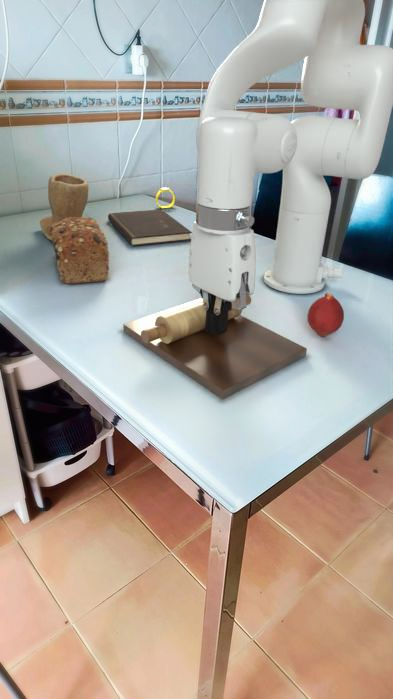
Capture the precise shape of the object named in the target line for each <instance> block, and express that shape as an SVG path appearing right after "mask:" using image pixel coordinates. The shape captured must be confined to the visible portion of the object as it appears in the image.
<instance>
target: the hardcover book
mask: <svg viewBox="0 0 393 699" xmlns="http://www.w3.org/2000/svg"><path fill="white" fill-rule="evenodd" d="M107 219H108V220H107V221H108V222H110V223H111V224H112V225H113V226H114V228H115V229H116V230H117V231H118V232H119V233H120V234H121V235H122V237H124V239H125V240H126V241H127V242H128V243H129V244H130V245H131V246H132V247H142V246H152V245H161V244H171V243H178V242H179V243H180V242H182V243H183V242H191V234H192V232H193V231H191V230H190V229H188V228H187V227H186V226H184V225H183V224H182V223H180V222H179V221H178V220H177V219H175V218H174V217H172V216H171V215H170V214H168V213H167V212H166V211H164V210H163V209H162V208H160V209H147V210H136V211H122V212H121V211H120V212H109V213H108V215H107Z"/></svg>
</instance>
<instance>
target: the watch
mask: <svg viewBox="0 0 393 699" xmlns="http://www.w3.org/2000/svg"><path fill="white" fill-rule="evenodd" d="M167 192H169V193H171V196H172V201H171V203H170V204H169V205H163V206H162V205H160V204H159V196H160V195H161V193H167ZM175 202H176V196H175V194H174V192H173V190H171V189H170V187H161V188H160V189H159V190H158V192H157V193H156V195H155V203H156V205H157V206H158V207H159V208H160V209H162V210H163V209H168V208H172V207H173V206H174V205H175Z"/></svg>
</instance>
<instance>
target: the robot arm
mask: <svg viewBox="0 0 393 699" xmlns="http://www.w3.org/2000/svg"><path fill="white" fill-rule="evenodd" d="M365 16H366V4H365V2H364V0H264V1H263V4H262V8H261V11H260V14H259V18H258V22H257V24H256V26H255V28H254V30H253V31H252V32H251V33H250V34H248V36H247V37H245V38H244V39H243V40H242V41H241V42H240V43H239V44H238V45H237V46H236V47H234V49H233V50H232V51H231V53H230V54H229V55H228V56H227V57H226V59H224V61H223V62H222V63H221V64H220V66H218V68H217V69H216V70H215V72H214V74H213V76H212V78H211V80H210V82H209V83H208V87H207V90H206V92H205V95H204V99H203V103H202V106H201V109H200V113H199V116H198V122H197V125H196V133H195V143H196V150H197V177H196V179H197V180H196V207H195V208H196V210H195V211H196V212H195V221H194V224H193V228H192V231H191V232H192V233H191V237H190V239H191V241H190V246H189V255H188V278H189V279H188V280H189V281H190V283H191V286H192V288H193V289H194V290H195V291H196V292H197V293H198V294H199V295H200V296H201V297H200V298H202V299H203V306H204V308H205V309H206V310H207V311H206V328H205V333H207V334H210V336H212V337H215V336H217V335H220V334H222V333H225V332H226V331H227V321H228V311H230V310H232V309H235V310H242V311H243V310H244V309H247V307H248V305H247V302H246V295H249V296H252V295H253V294H254V292H255V288H256V272H257V252H256V251H257V250H256V248H257V247H256V237H255V232H254V229H252V228H250V227H252V226H253V225H254V224H255V217H254V216H252V202H253V195H254V194H253V193H254V184H255V175H256V174H274V173H278V172H280V171H282V182H281V183H282V184H281V194H280V204H279V211H278V219H277V228H276V235H275V236H276V237H275V244H274V252H273V260H272V261H273V262H272V268H270V269H268V270H266V271H265V272H264V275H263V281H264V284H266V285H267V286H268V287H270V288H271V289H273V290H276V291H279V292H283V293H287V294H295V295H307V294H313V293H318V292H320V291H321V290H322V289H323V288H325V284H326V280H327V278H332V279H342V278H343V275H344V271H343V268H335V267H334V265H329V264H327V265H324V264H323V263H322V257H323V250H324V246H325V245H324V244H325V239H326V233H327V228H328V222H329V216H330V210H331V204H332V195H331V191H330V188H329V186H328V183H327V182H326V178H324V176H325V177H326V176H330V177H337V178H344V179H351V180H365V179H367V178H369V177H371V176H372V175H373V174H374V172H375V171H376V169H377V167H378V165H379V162H380V160H381V155H382V152H383V147H384V144H385V139H386V136H387V131H388V127H389V123H390V118H391V114H392V110H393V48H392V47H391V46H387V45H383V44H361V36H362V32H363V26H364V21H365ZM303 60H304V62H303V66H302V73H301V81H300V94H301V95H300V96H301V99H302V100H303V102H304V103H306V104H307V105H308V106H312V107H316V108H323V109H335V110H346V111H348V110H349V111H357V112H358V113H359V119H353V118H342V117H335V116H323V115H303V116H300V117H296V118H295V119H293V120H292V121H291V120H290V119H288V118H287V117H285V116H282V115H280V114H274V113H265V112H255V111H245V110H235V108H236V106H237V104H238V103H239V101H240V99H241V98H242V96H243V95H244V94H245V93H246V92H247V91H248V90H249V89H250V88H251V87H253V86H254V85H256V84H257V83H258V82H259V81H262V80H263V79H265V78H268V77H269V76H271V75H274V74H276V73H278V72H280V71H282V70H285V69H286V68H289V67H291V66H293V65H295V64H297V63H299V62H301V61H303ZM224 301H225V302H224Z"/></svg>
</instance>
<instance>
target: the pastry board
mask: <svg viewBox="0 0 393 699" xmlns="http://www.w3.org/2000/svg"><path fill="white" fill-rule="evenodd" d="M202 301H203V299H202V297H200V298H198V299H194V300H191V301H188V302H185V303H182V304H180V305H176V306H173V307H171V308H167V309H165V310H161V311H158V312H155V313H153V314H149V315H146V316H144V317H140V318H138V319H134V320H132V321H129V322H125V323H123V324H122V325H123V326H122V328H123V333H124V334H126V335H127V336H129V337H130V338H132V339H133V340H135V341H136V342H138V343H139V344H140V345H142V346H143V347H145V348H146V349H147V350H149V351H151V352H152V353H153V354H155V355H156V356H158V357H159V358H161V359H162V360H164V361H165V362H166V363H168V364H170V365H171V366H173V367H174V368H176V369H177V370H179V372H181V373H183V374H184V375H185V376H187V377H188V378H191V380H193V381H195V382H196V383H198V384H199V385H200V386H202V387H204V388H205V389H206V390H208V391H209V392H211V393H212V394H213V395H215V396H217V398H220V399H221V400H225V399H227V398H229V397H231V396H233V395H235V394H237V393H238V392H240V391H242V390H244V389H246V388H247V387H250V386H252V385H254V384H255V383H258V382H260V381H261V380H264V379H265V378H268V377H269V376H271V375H273V374H275V373H277V372H279V371H280V370H283V369H285V368H287V367H289V366H291V365H292V364H294V363H296V362H298V361H300V360H301V359H304V358H306V356H307V351H308V349H307V347H305V346H303V345H301V344H299V343H297V342H295V341H293V340H291V339H289V338H287V337H285V336H283V335H281V334H279V333H277V332H276V331H273V330H272V329H269V328H267V327H266V326H263V325H261V324H259V323H257V322H255V321H253V320H251V319H249V318H248V317H245V316H243V315H241V314H240V315H239V316H238V317H235V318H232V319H230V320H228V321H227V331H226V332H225V333H222V334H220V335H217V336H215V337H212V336H210V334H207V333H205V329H204V330H202V331H199V332H197V333H194V334H191V335H189V336H186V337H184V338H181V339H179V340H176V341H173V342H171V343H168V344H167V343H164V342H162V341H161V340H160V338H159V339H157V340H154V341H151V342H149V343H145V342H144V341H143V340H142V337H141V331H142V330H145V329H148V328H151V327H154V326H155V320H156V318H157V317H158V316H161V315H164V314H167V313H170V312H173V311H176V310H179V309H182V308H184V307H187V306H190V305H193V304H196V303H199V302H202Z"/></svg>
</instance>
